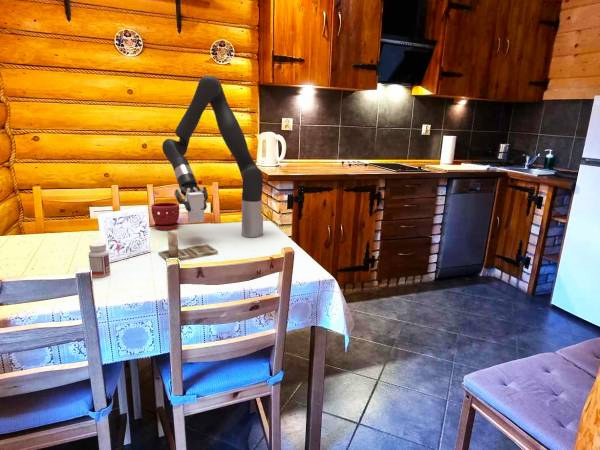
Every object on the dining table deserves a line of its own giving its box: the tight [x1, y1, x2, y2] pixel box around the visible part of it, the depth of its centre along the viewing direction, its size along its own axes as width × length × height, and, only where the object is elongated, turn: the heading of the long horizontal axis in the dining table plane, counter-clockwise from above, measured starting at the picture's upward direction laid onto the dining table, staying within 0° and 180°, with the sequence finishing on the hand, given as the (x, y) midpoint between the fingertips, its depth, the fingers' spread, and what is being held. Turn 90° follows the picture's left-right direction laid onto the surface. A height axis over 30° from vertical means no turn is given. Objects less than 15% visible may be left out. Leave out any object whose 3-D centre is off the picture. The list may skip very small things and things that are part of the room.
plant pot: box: [150, 201, 180, 231], centre depth 201 cm, size 13×13×12 cm
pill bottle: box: [88, 241, 111, 279], centre depth 141 cm, size 6×6×11 cm
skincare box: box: [187, 191, 205, 224], centre depth 172 cm, size 6×4×12 cm
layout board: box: [157, 243, 219, 262], centre depth 163 cm, size 21×13×2 cm, turn 127°
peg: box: [167, 229, 179, 258], centre depth 159 cm, size 4×4×10 cm
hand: (197, 209), depth 171 cm, fingers closed on skincare box, 6 cm apart
